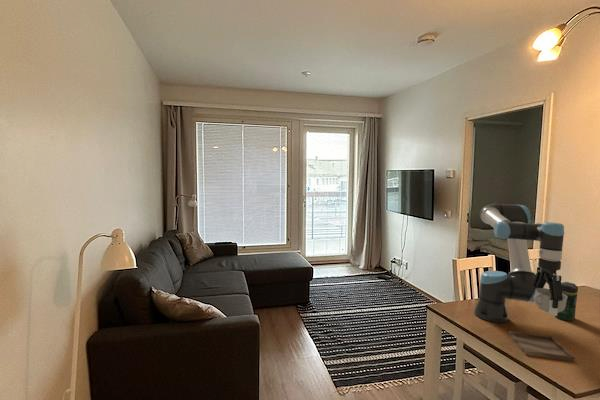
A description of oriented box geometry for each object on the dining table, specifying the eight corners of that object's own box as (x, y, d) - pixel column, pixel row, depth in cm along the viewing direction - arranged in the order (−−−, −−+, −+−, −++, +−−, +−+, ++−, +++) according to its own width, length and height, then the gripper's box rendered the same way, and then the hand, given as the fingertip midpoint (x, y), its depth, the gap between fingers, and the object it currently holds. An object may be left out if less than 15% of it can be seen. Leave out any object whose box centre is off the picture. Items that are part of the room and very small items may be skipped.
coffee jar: (571, 323, 160) (575, 287, 158) (552, 317, 166) (555, 282, 165) (576, 318, 166) (580, 283, 164) (557, 312, 172) (561, 279, 170)
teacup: (550, 305, 141) (552, 287, 141) (573, 316, 130) (574, 297, 130) (520, 305, 140) (522, 287, 140) (540, 315, 130) (542, 296, 129)
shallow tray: (508, 334, 146) (508, 330, 146) (551, 340, 142) (551, 336, 142) (525, 354, 129) (525, 350, 129) (574, 361, 125) (574, 357, 125)
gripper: (526, 252, 146) (522, 298, 148) (555, 265, 124) (550, 320, 125) (545, 253, 145) (540, 300, 146) (577, 267, 122) (572, 322, 124)
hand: (545, 309), depth 136 cm, fingers closed on teacup, 11 cm apart
